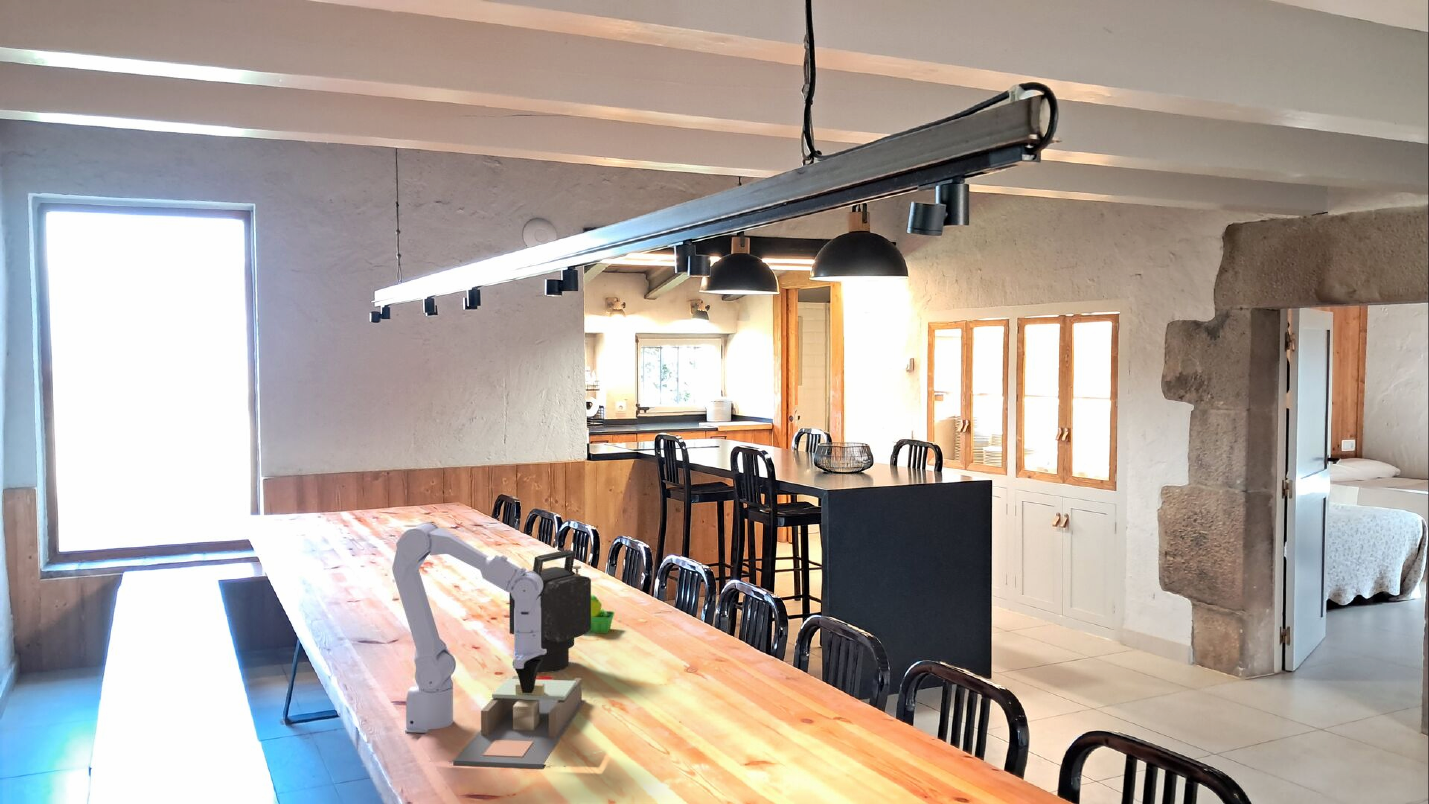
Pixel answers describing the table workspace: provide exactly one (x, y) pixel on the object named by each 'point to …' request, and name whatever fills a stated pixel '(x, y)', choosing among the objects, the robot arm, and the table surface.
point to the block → (525, 714)
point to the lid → (535, 690)
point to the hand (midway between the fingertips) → (527, 692)
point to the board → (519, 733)
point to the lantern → (560, 609)
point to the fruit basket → (599, 617)
